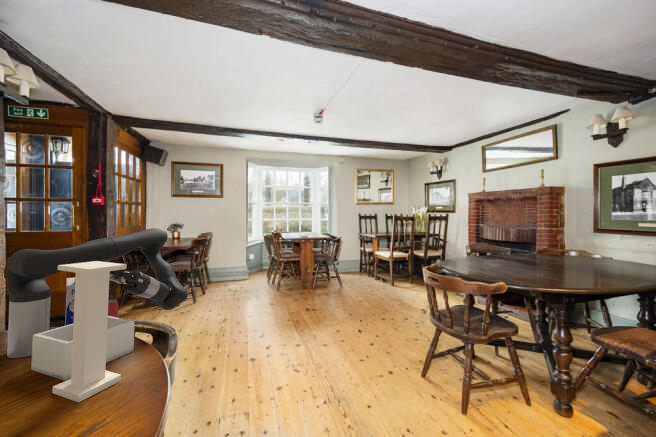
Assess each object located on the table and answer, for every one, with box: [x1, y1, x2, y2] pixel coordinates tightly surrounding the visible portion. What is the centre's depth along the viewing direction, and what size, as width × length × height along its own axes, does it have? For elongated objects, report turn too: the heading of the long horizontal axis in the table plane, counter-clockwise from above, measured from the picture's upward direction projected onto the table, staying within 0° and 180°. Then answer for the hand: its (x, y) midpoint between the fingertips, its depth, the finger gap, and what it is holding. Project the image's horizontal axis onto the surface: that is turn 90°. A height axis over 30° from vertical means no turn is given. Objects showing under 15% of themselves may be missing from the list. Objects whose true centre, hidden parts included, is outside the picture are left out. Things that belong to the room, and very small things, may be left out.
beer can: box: [108, 298, 119, 318], centre depth 108 cm, size 7×7×12 cm
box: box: [30, 316, 136, 382], centre depth 88 cm, size 15×19×10 cm
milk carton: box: [64, 277, 75, 326], centre depth 111 cm, size 7×7×20 cm
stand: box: [51, 261, 128, 403], centre depth 74 cm, size 12×10×32 cm
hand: (102, 268), depth 90 cm, fingers open, 8 cm apart
